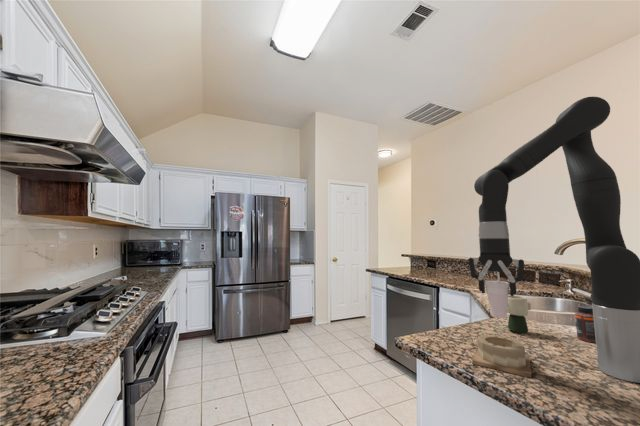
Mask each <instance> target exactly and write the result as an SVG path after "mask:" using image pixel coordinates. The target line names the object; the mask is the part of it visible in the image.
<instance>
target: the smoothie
mask: <svg viewBox="0 0 640 426" xmlns="http://www.w3.org/2000/svg"><path fill="white" fill-rule="evenodd" d="M496 274H497V276H496V277H497V280H484V285H485V292H486V294H487V300H488V305H489V309H490V315H491V316H492V317H494V318H499V319H500V318H501V319H506V318H507V316H508V313H507V305H508V295H509V293H510V282H507V281H501V279H500V278H501V277H500V272H497V271H496Z"/></svg>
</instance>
